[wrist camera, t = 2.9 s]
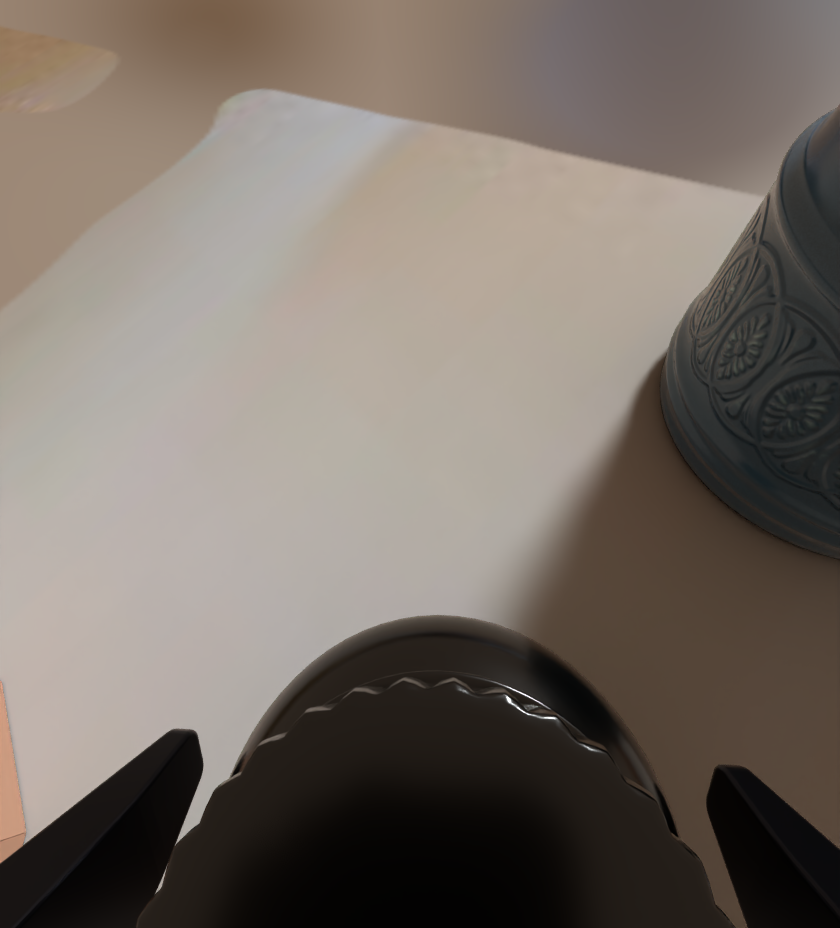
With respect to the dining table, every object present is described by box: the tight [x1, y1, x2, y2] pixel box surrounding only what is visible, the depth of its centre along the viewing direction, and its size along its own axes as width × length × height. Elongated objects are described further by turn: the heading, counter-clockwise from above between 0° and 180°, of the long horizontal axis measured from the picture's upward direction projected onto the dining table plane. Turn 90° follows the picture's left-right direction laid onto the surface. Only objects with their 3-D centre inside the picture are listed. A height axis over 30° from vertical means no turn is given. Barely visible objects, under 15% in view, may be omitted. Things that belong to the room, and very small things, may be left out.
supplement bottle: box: [136, 615, 735, 928], centre depth 8 cm, size 7×7×12 cm
